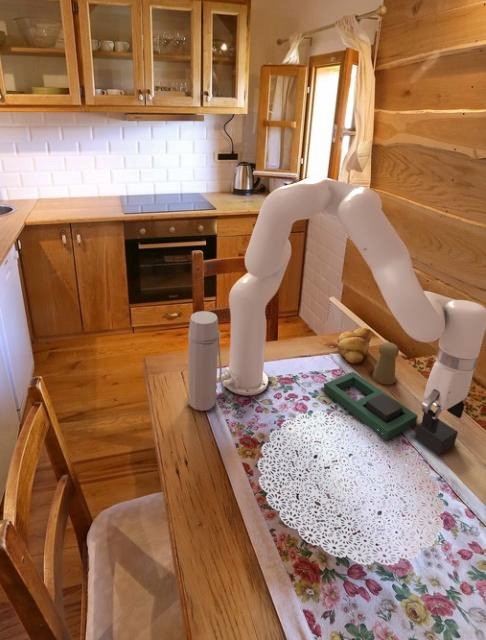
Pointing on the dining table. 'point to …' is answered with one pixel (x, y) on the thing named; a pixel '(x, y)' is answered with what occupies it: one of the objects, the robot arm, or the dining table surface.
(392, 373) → the pepper mill
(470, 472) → the dining table surface
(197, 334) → the water bottle
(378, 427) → the green rectangular frame
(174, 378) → the dining table surface
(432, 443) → the pad
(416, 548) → the dining table surface
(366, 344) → the bread roll
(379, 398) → the pad
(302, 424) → the dining table surface
